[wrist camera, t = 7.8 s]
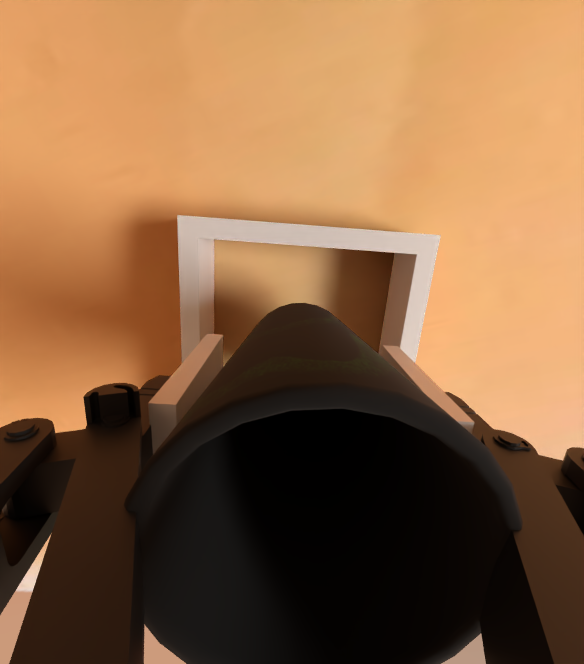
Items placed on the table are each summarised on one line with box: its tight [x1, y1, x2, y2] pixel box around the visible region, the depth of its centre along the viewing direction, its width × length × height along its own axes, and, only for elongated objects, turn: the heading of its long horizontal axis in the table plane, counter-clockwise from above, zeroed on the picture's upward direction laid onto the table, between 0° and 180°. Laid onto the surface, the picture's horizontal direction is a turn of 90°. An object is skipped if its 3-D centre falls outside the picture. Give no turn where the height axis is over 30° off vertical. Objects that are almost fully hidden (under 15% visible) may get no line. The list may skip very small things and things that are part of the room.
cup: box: [124, 303, 523, 664], centre depth 12 cm, size 8×8×12 cm
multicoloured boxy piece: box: [177, 215, 441, 363], centre depth 19 cm, size 24×14×8 cm, turn 176°
